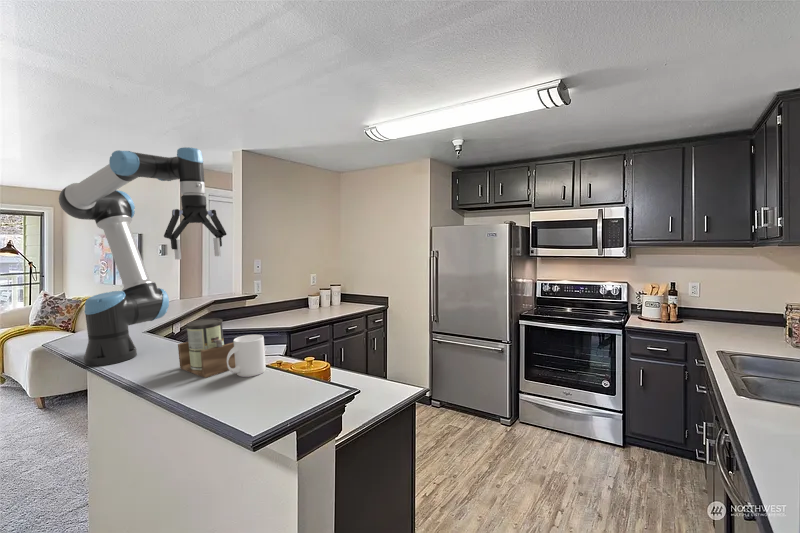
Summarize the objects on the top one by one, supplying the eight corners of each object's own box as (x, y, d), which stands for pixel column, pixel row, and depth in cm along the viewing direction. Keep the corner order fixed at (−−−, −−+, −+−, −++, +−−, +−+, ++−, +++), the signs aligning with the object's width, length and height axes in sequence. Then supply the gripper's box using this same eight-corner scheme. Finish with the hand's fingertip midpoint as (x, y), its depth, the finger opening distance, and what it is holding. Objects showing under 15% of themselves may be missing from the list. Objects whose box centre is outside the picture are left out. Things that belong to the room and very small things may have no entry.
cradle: (180, 368, 131) (177, 338, 130) (213, 358, 139) (210, 330, 138) (205, 377, 121) (202, 345, 120) (239, 367, 130) (236, 336, 129)
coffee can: (202, 359, 135) (199, 318, 134) (231, 359, 134) (228, 317, 133) (182, 370, 125) (178, 325, 124) (214, 370, 124) (210, 325, 123)
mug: (219, 378, 120) (216, 342, 119) (254, 366, 130) (252, 333, 129) (236, 383, 115) (233, 346, 114) (271, 370, 125) (269, 336, 124)
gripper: (158, 192, 125) (165, 261, 127) (233, 195, 145) (238, 255, 147) (148, 194, 130) (154, 260, 132) (222, 197, 150) (227, 254, 152)
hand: (198, 257), depth 139 cm, fingers open, 13 cm apart
